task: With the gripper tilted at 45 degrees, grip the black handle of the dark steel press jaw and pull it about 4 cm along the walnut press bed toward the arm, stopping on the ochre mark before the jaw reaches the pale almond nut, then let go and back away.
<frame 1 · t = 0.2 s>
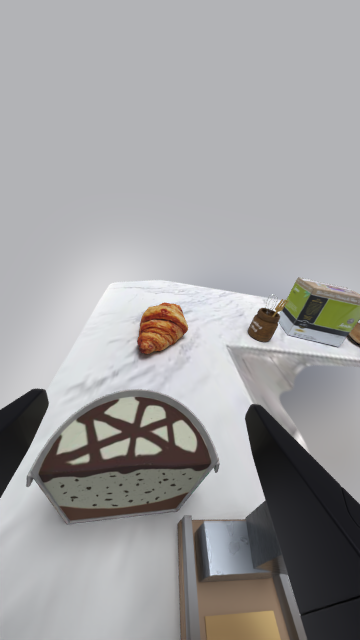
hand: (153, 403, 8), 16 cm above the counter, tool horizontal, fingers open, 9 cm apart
croissant: (163, 333, 42), on the counter
press jaw: (258, 536, 12), point 7 cm above the counter, slide at 0.0 cm
utensil holder: (258, 336, 49), on the counter
tea box: (304, 333, 57), on the counter
food container: (128, 475, 19), on the counter
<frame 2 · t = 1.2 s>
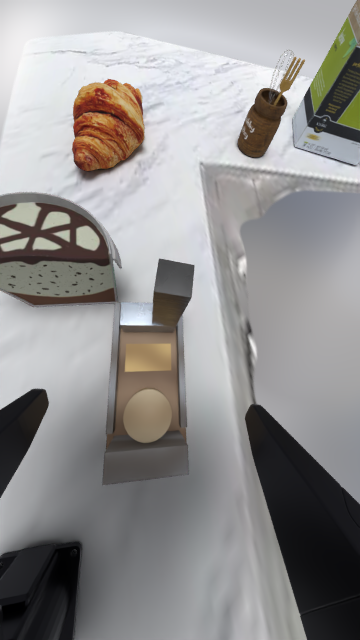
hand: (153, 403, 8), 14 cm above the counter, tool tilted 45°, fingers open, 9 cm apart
press bed: (148, 375, 21), on the counter
croissant: (116, 143, 32), on the counter
press jaw: (150, 306, 17), point 7 cm above the counter, slide at 0.0 cm
utensil holder: (250, 149, 37), on the counter
tea box: (321, 144, 41), on the counter
nut: (148, 407, 19), point 1 cm above the counter, touching press bed
food container: (78, 282, 24), on the counter
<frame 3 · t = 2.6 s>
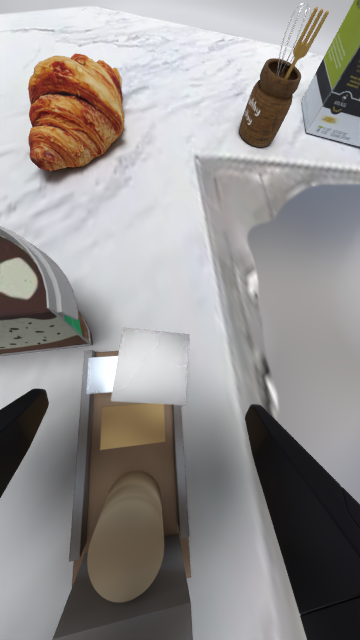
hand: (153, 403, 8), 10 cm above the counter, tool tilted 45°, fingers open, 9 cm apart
press bed: (135, 447, 16), on the counter
croissant: (90, 136, 26), on the counter
press jaw: (126, 371, 11), point 7 cm above the counter, slide at 0.0 cm
utensil holder: (254, 138, 31), on the counter
tea box: (336, 128, 35), on the counter
nut: (133, 502, 14), point 1 cm above the counter, touching press bed
food container: (40, 319, 18), on the counter
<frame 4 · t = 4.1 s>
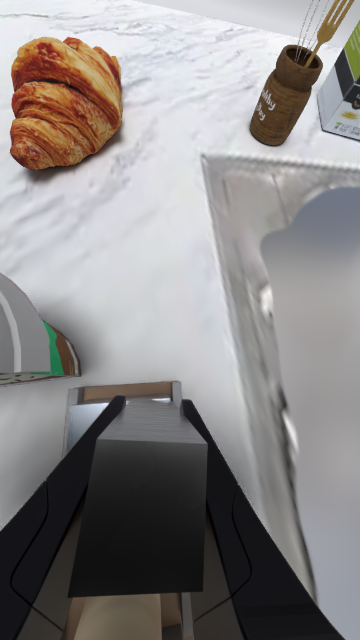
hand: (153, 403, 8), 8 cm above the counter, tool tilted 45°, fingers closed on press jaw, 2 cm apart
press bed: (129, 503, 13), on the counter
croissant: (85, 131, 23), on the counter
press jaw: (115, 436, 8), point 7 cm above the counter, slide at 0.0 cm, touching gripper
utensil holder: (266, 135, 28), on the counter
tea box: (355, 126, 32), on the counter
nut: (125, 582, 11), point 1 cm above the counter, touching press bed
food container: (20, 345, 15), on the counter
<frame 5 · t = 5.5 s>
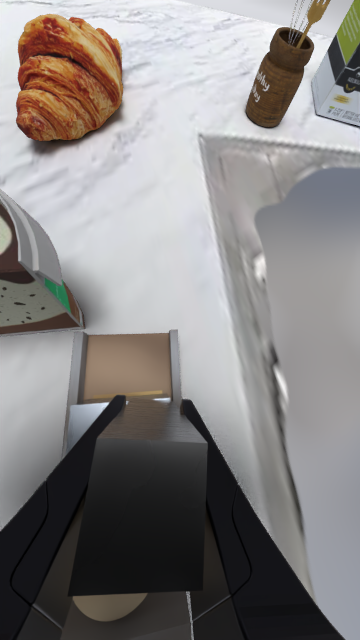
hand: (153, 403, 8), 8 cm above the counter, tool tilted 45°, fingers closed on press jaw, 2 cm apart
press bed: (129, 440, 14), on the counter
croissant: (87, 110, 24), on the counter
press jaw: (115, 436, 8), point 7 cm above the counter, slide at 3.9 cm, touching gripper
utensil holder: (261, 118, 29), on the counter
tea box: (348, 111, 34), on the counter
nut: (126, 501, 12), point 1 cm above the counter, touching press bed
food container: (28, 300, 16), on the counter
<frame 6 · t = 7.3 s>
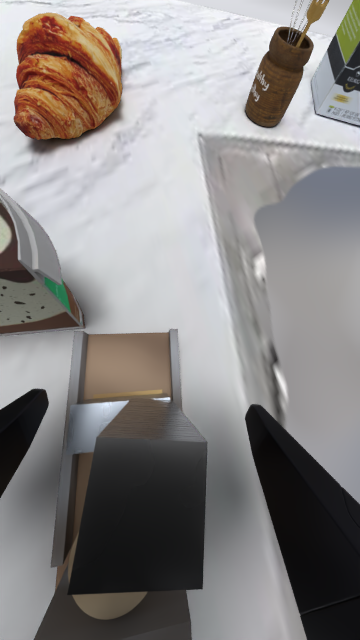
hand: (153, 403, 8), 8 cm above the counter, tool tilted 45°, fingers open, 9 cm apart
press bed: (129, 439, 14), on the counter
croissant: (86, 109, 24), on the counter
press jaw: (115, 436, 8), point 7 cm above the counter, slide at 4.0 cm
utensil holder: (261, 117, 29), on the counter
tea box: (347, 111, 34), on the counter
nut: (127, 500, 12), point 1 cm above the counter, touching press bed
food container: (28, 300, 16), on the counter
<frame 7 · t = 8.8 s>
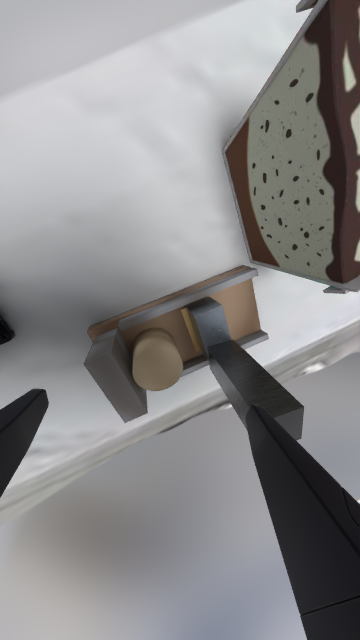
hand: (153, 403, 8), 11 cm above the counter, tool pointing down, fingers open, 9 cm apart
press bed: (181, 328, 20), on the counter
press jaw: (229, 354, 14), point 7 cm above the counter, slide at 3.8 cm
nut: (154, 346, 18), point 1 cm above the counter, touching press bed
food container: (266, 199, 17), on the counter
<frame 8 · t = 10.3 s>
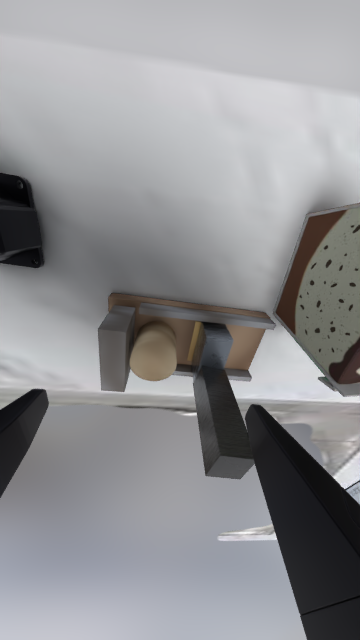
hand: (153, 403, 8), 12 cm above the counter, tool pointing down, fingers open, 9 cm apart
press bed: (185, 335, 21), on the counter
press jaw: (217, 383, 15), point 7 cm above the counter, slide at 3.8 cm
nut: (156, 338, 20), point 1 cm above the counter, touching press bed
food container: (316, 271, 18), on the counter
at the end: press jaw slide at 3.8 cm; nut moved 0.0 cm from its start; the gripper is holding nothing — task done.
